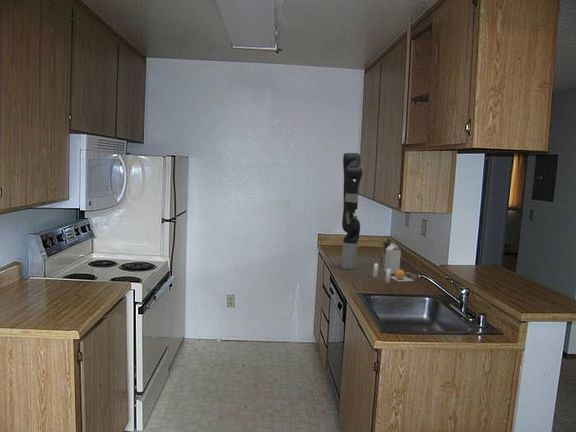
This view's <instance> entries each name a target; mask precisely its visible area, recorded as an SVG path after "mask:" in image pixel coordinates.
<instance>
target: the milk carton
mask: <svg viewBox="0 0 576 432" xmlns="http://www.w3.org/2000/svg"><path fill="white" fill-rule="evenodd" d="M394 243H395V242H392V243H391V245H390V246H388V247H387V248H386V254H385V266H384V269H383V271H384V272H385V273H386V270H387V269H391V275H392V274H393V275H395V272H396V271H397V270H400V268H401V254H402V253H401V252H402V250H401V249H400V248H399V246H398V244H397V243H395V244H394ZM396 244H397V245H396Z"/></svg>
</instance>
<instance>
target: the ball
mask: <svg viewBox="0 0 576 432" xmlns="http://www.w3.org/2000/svg"><path fill="white" fill-rule="evenodd" d="M405 272H406V271H405V270H403V269H399V270H397V271H396V272H395V274H394V277H396V278H397V279H403V278H404V277H405Z"/></svg>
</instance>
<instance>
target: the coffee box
mask: <svg viewBox="0 0 576 432" xmlns="http://www.w3.org/2000/svg"><path fill="white" fill-rule="evenodd" d="M391 243H394V244H396V245H397V246H398V243H395V242H392V241H382V242H381V256H380V257H381V258H380V265H381V266H384V267H385V254H386V248H387V247H388V246H390V245H391Z"/></svg>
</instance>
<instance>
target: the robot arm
mask: <svg viewBox="0 0 576 432" xmlns="http://www.w3.org/2000/svg"><path fill="white" fill-rule="evenodd" d="M342 157H343V158H342V163H343V164H342V167H343V190H342V191H343V196H342V197H343V205H342V206H343V212H342V220H341V221H342V222H341V227H342V230H343V232H345V233H346V235H345V236H344V237H343V241H342V256H341V269H342V270H347V271H348V270H349V271H351V270H353V271H354V270H356V266H357V255H358V252H357V250H358V242H359V238H360V234H361V233H360V231H361V223H360V220H359V219H358V216H357V215H356V210H358V206H359V205H358V203H359V185H360V183H361V179H362V177H363V174H364V172H363V169H362V168H361V167H360V166H361V155H360V154H359V153H357V152H346V153H343V156H342Z"/></svg>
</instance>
